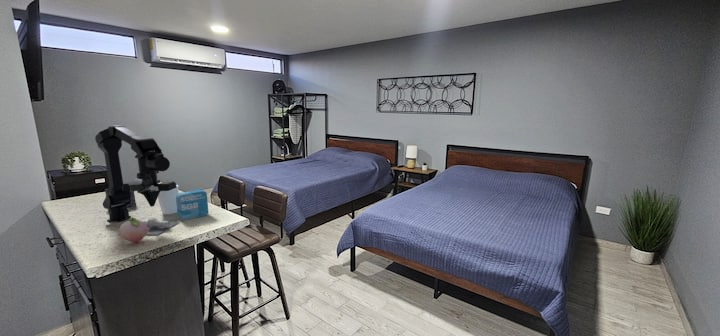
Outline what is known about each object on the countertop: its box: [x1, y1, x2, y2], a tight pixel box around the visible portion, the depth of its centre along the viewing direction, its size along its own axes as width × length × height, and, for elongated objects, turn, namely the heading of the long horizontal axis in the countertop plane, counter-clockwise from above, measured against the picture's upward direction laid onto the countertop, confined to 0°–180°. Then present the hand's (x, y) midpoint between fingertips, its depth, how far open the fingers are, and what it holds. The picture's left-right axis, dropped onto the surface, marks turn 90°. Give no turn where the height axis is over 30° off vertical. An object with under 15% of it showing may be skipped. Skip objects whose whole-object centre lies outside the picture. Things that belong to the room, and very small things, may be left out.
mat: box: [117, 221, 180, 236], centre depth 126 cm, size 16×14×1 cm
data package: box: [176, 189, 209, 221], centre depth 140 cm, size 12×4×12 cm, turn 134°
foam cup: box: [157, 184, 180, 216], centre depth 146 cm, size 10×9×13 cm
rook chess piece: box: [146, 217, 171, 229], centre depth 125 cm, size 4×4×8 cm
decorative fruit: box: [118, 216, 148, 243], centre depth 112 cm, size 9×8×10 cm
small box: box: [104, 188, 137, 208], centre depth 154 cm, size 11×6×10 cm, turn 144°
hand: (152, 206), depth 124 cm, fingers closed
